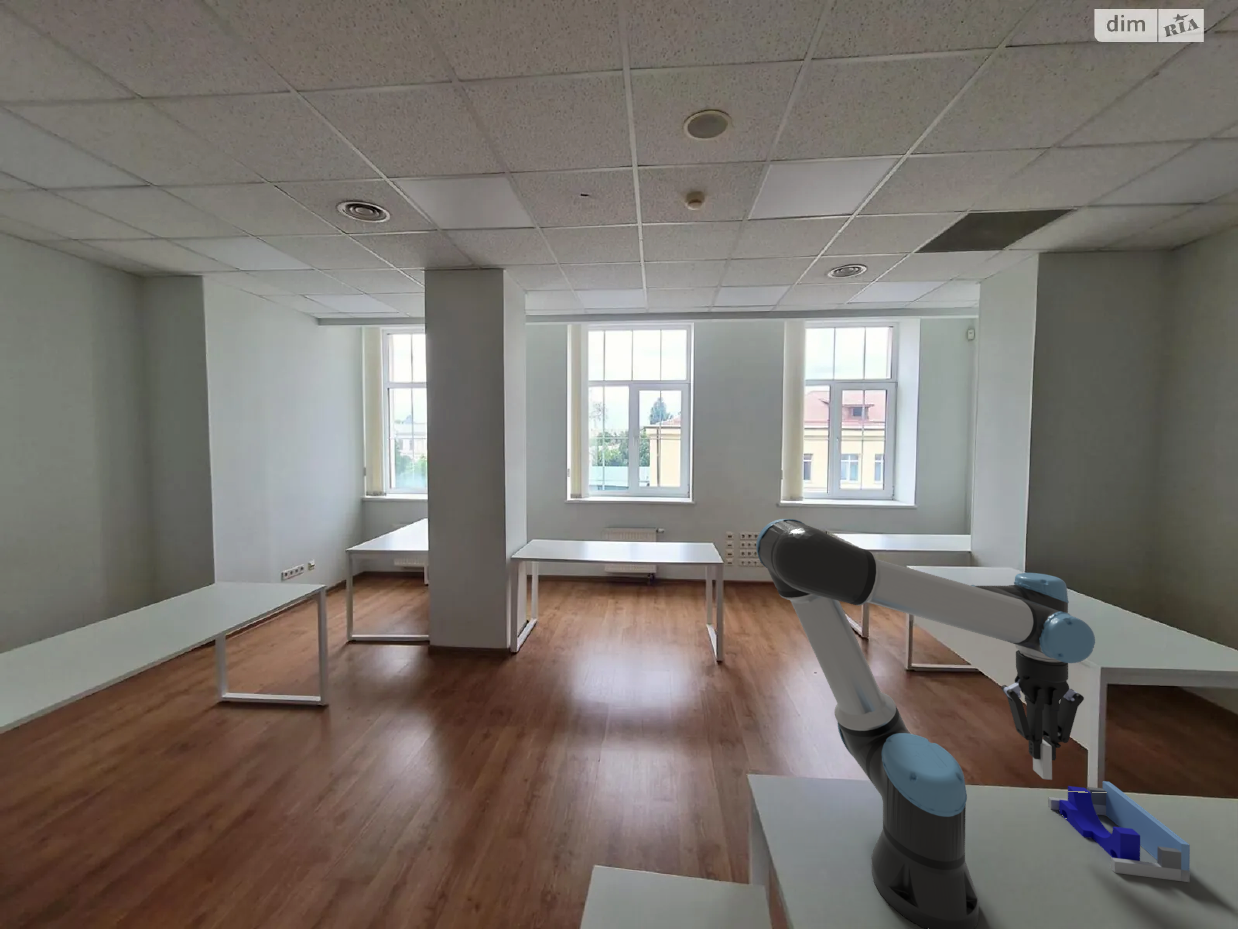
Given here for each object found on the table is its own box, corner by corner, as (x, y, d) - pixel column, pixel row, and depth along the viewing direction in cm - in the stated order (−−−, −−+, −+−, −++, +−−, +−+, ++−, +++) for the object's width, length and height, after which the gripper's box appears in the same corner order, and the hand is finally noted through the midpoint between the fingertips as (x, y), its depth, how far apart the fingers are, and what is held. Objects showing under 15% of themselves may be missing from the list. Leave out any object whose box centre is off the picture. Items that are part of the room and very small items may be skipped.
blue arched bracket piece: (1059, 814, 94) (1059, 785, 94) (1084, 817, 93) (1084, 788, 93) (1110, 865, 82) (1110, 832, 82) (1139, 868, 82) (1140, 835, 82)
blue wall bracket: (1114, 872, 81) (1114, 836, 81) (1048, 806, 96) (1048, 775, 96) (1189, 882, 79) (1189, 845, 79) (1109, 813, 94) (1109, 781, 94)
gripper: (1016, 661, 86) (1017, 784, 87) (1096, 665, 84) (1097, 792, 84) (991, 645, 94) (992, 759, 94) (1064, 648, 92) (1065, 765, 92)
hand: (1042, 774), depth 89 cm, fingers closed
